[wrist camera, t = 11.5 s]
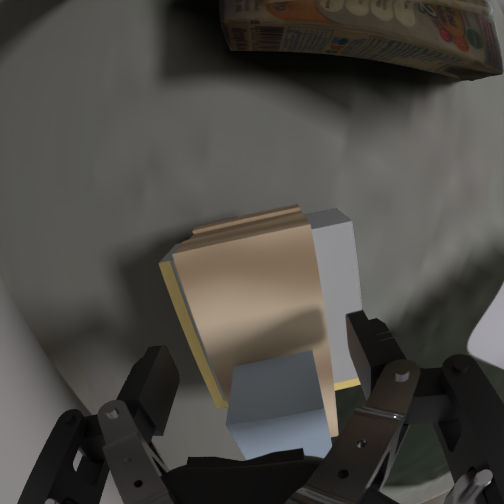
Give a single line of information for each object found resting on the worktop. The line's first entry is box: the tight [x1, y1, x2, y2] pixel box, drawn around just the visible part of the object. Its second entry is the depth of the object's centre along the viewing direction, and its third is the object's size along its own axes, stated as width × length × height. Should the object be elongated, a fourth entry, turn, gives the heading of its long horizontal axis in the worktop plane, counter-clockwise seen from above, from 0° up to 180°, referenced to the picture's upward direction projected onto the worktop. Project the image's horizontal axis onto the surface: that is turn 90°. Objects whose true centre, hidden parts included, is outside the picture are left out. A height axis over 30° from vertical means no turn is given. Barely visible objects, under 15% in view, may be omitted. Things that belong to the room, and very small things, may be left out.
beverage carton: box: [219, 0, 504, 81], centre depth 13 cm, size 8×19×7 cm, turn 90°
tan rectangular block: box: [172, 204, 338, 437], centre depth 17 cm, size 14×6×5 cm, turn 13°
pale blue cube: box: [226, 350, 332, 460], centre depth 13 cm, size 4×4×4 cm
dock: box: [158, 208, 362, 409], centre depth 22 cm, size 13×12×4 cm
